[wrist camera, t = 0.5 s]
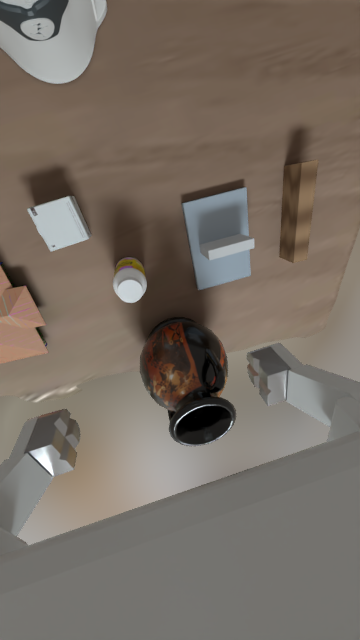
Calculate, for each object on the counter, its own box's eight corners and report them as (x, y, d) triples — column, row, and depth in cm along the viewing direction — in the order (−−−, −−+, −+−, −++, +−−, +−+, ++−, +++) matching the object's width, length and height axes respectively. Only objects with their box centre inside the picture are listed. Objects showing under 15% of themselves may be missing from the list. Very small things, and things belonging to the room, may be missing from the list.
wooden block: (283, 166, 49) (301, 163, 44) (298, 162, 49) (318, 159, 44) (278, 256, 59) (293, 263, 54) (291, 253, 59) (306, 259, 54)
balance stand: (181, 203, 48) (190, 205, 41) (243, 187, 49) (262, 186, 42) (197, 288, 58) (206, 300, 52) (247, 273, 59) (263, 284, 53)
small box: (92, 235, 48) (89, 240, 43) (56, 247, 47) (49, 252, 43) (74, 194, 44) (68, 195, 39) (35, 207, 43) (24, 208, 39)
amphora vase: (189, 376, 73) (220, 465, 49) (125, 359, 65) (125, 456, 41) (224, 322, 66) (281, 396, 42) (158, 294, 57) (181, 368, 33)
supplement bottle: (133, 250, 51) (135, 267, 40) (149, 275, 54) (155, 296, 43) (108, 266, 51) (104, 286, 40) (125, 289, 55) (125, 313, 44)
